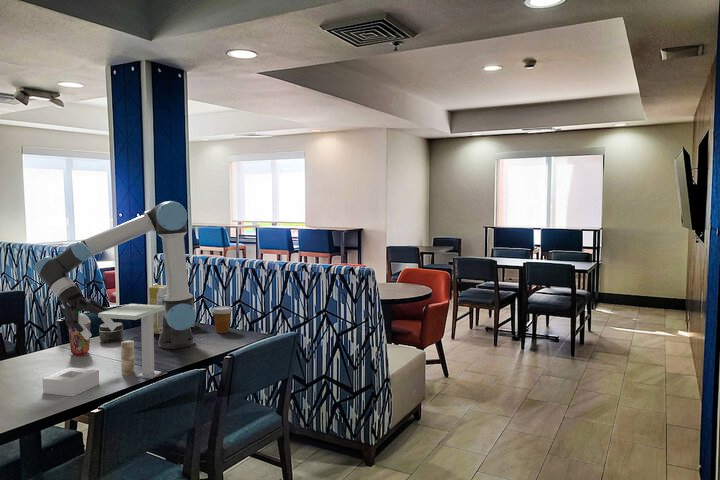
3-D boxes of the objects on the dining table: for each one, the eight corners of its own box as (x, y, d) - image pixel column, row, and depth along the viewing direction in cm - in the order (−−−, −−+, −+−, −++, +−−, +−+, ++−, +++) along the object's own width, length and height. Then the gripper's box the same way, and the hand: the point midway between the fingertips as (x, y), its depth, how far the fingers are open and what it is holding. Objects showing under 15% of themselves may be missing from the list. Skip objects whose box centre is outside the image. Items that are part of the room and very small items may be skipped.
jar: (116, 344, 233) (116, 327, 233) (95, 343, 233) (94, 327, 233) (127, 338, 243) (127, 322, 242) (106, 337, 243) (105, 321, 243)
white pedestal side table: (99, 380, 186) (98, 313, 185) (131, 364, 204) (130, 303, 202) (141, 384, 183) (140, 316, 181) (170, 368, 200) (169, 306, 199)
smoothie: (81, 357, 212) (80, 309, 211) (64, 356, 214) (62, 308, 212) (95, 352, 220) (94, 305, 219) (78, 350, 222) (77, 304, 221)
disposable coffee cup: (214, 335, 251) (214, 310, 250) (210, 330, 259) (210, 306, 258) (234, 332, 255) (234, 309, 254) (229, 328, 264) (229, 305, 263)
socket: (70, 381, 185) (69, 367, 185) (99, 384, 183) (98, 370, 182) (42, 393, 173) (42, 378, 173) (73, 396, 171) (73, 381, 170)
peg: (133, 370, 197) (132, 339, 196) (135, 374, 193) (134, 342, 193) (120, 372, 195) (120, 341, 194) (122, 376, 191) (122, 344, 190)
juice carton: (156, 329, 260) (155, 282, 258) (171, 330, 259) (170, 282, 257) (146, 333, 251) (145, 285, 249) (161, 334, 250) (160, 285, 248)
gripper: (84, 292, 210) (118, 331, 208) (34, 304, 186) (71, 348, 184) (96, 280, 209) (129, 319, 207) (46, 290, 184) (84, 334, 182)
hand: (102, 333), depth 195 cm, fingers open, 13 cm apart
